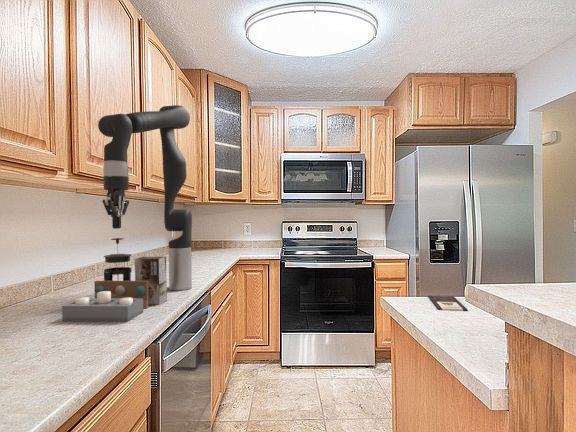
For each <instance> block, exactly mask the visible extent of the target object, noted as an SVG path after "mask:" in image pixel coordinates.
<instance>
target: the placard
mask: <svg viewBox="0 0 576 432" xmlns="http://www.w3.org/2000/svg"><path fill="white" fill-rule="evenodd" d="M101 291H111V298H127V297H131V298H143V309H149V304H148V281H135V280H131V281H123V280H119V281H118V280H113V281H104V280H94V298H97V293H98V292H101Z"/></svg>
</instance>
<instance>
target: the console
mask: <svg viewBox="0 0 576 432" xmlns="http://www.w3.org/2000/svg"><path fill="white" fill-rule="evenodd" d="M119 299H121V298H111V302H110V303H108V304H97V298H95V297H89V302H88V303H86V304H75V300H74V301H72V302H69V303H66V304H64V305H62V306H61V313H62V317H61V319H62V320H61V321H62V322H108V323H109V322H112V323H113V322H115V323H116V322H119V323H120V322H121V323H122V322H123V323H124V322H126V323H127V322H130V321H132V320H133V319H135V318H136V317H138V316H140V315H142V314H143V313H144V308H143V298H133V303H131V304H119Z"/></svg>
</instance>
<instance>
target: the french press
mask: <svg viewBox="0 0 576 432" xmlns="http://www.w3.org/2000/svg"><path fill="white" fill-rule="evenodd" d="M123 240H124V238H122V237H115V238H111V241H115V244H116V253H111V254H107V255H103V258H104V263H106V264H107V263H108V264H116V266H115V267H110V268H109V267H108V268H105V269H103V281H114V280H113V276H115V275H116V276H117V280H116V281H120V280H119V278H120V277H119V275H122V281H132V279H131V277H132V276H131V275H132V270H133V269H132V267H129V266H128V267H126V266H119V264H120V263H126V262H127V263H128V262H131V256H132V254H130V253H119V243H120V241H123Z"/></svg>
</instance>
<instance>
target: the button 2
mask: <svg viewBox="0 0 576 432" xmlns="http://www.w3.org/2000/svg"><path fill="white" fill-rule="evenodd" d="M110 302H111V291H101V292H98V293H97V304H108V303H110Z"/></svg>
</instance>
